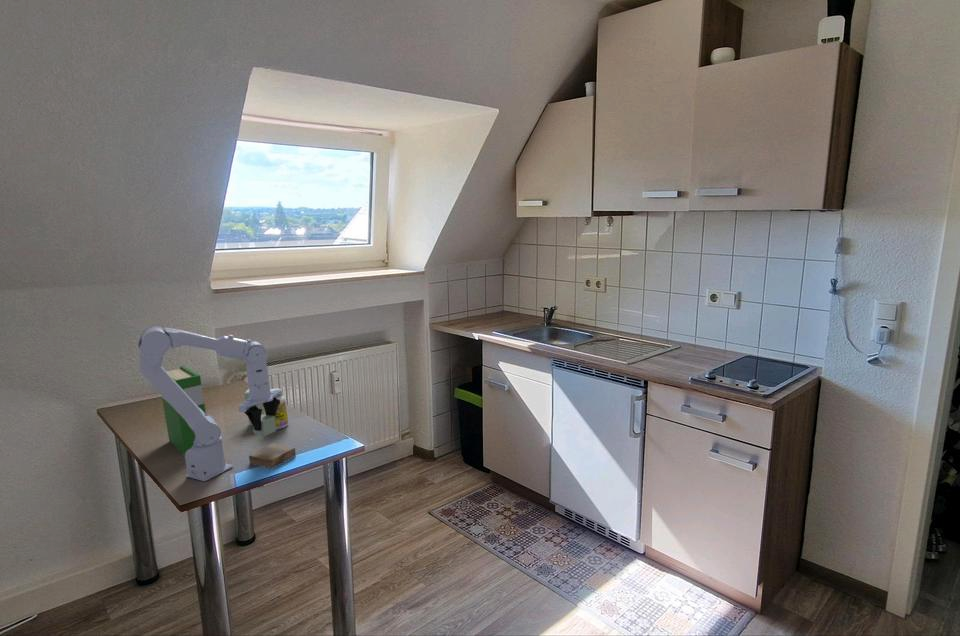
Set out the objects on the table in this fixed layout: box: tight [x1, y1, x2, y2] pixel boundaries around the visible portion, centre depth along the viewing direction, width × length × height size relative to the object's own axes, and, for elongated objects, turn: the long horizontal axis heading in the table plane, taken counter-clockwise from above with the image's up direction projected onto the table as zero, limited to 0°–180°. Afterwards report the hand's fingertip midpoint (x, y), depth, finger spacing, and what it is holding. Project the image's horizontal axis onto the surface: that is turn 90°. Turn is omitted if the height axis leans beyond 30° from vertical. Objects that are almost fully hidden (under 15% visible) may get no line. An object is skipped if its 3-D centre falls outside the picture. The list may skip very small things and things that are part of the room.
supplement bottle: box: [270, 388, 289, 430], centre depth 187 cm, size 7×7×13 cm
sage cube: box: [252, 414, 277, 437], centre depth 163 cm, size 4×4×4 cm
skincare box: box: [243, 388, 266, 426], centre depth 191 cm, size 6×4×12 cm
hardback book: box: [161, 365, 207, 457], centre depth 174 cm, size 18×7×24 cm, turn 43°
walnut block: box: [248, 442, 297, 469], centre depth 162 cm, size 9×9×3 cm
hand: (264, 426), depth 163 cm, fingers closed on sage cube, 4 cm apart
